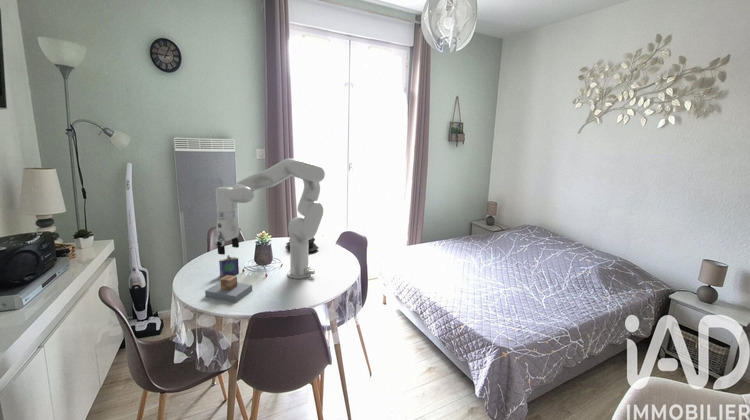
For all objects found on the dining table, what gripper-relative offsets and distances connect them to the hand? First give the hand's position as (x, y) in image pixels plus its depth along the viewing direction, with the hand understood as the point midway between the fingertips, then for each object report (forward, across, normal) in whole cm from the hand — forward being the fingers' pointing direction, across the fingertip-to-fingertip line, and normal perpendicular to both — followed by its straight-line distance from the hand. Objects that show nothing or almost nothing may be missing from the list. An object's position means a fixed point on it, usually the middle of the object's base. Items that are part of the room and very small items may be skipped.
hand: (228, 250), depth 148 cm
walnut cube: (+18, -2, 0) cm, 18 cm away
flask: (+21, +16, +13) cm, 30 cm away
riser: (+21, -2, 0) cm, 21 cm away
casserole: (+22, +68, -4) cm, 71 cm away
